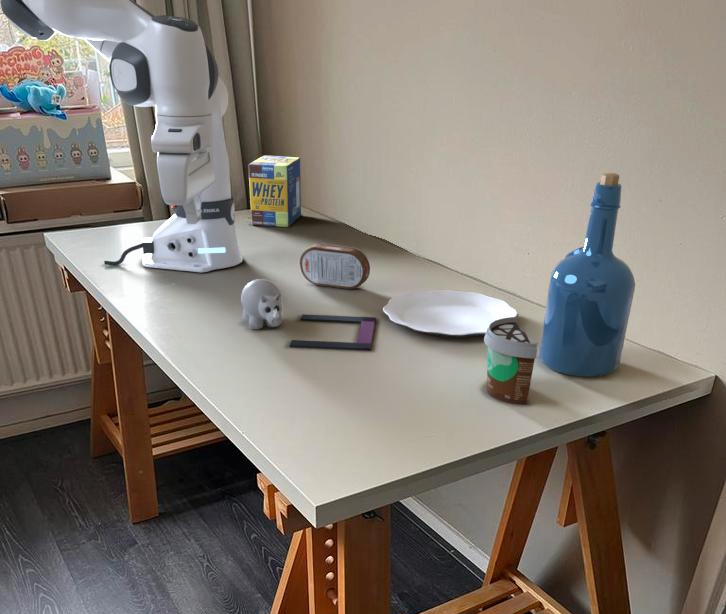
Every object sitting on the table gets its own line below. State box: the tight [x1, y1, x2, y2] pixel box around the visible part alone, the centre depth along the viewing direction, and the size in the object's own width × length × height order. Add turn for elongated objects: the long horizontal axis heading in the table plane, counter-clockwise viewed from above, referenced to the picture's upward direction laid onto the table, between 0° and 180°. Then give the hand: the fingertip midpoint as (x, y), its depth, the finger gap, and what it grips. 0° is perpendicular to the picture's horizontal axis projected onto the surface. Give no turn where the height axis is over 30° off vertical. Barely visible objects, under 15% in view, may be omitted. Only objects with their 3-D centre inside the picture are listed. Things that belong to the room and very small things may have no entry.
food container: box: [483, 316, 538, 405], centre depth 117 cm, size 12×6×10 cm, turn 5°
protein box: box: [248, 154, 302, 228], centre depth 211 cm, size 10×15×16 cm
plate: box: [382, 289, 519, 338], centre depth 147 cm, size 25×25×2 cm
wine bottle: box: [539, 172, 636, 378], centre depth 122 cm, size 14×13×30 cm
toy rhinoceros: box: [240, 278, 284, 330], centre depth 139 cm, size 7×12×8 cm, turn 24°
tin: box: [299, 242, 371, 290], centre depth 162 cm, size 15×3×8 cm, turn 71°
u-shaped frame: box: [289, 313, 377, 352], centre depth 141 cm, size 14×16×1 cm
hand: (194, 221), depth 132 cm, fingers closed
